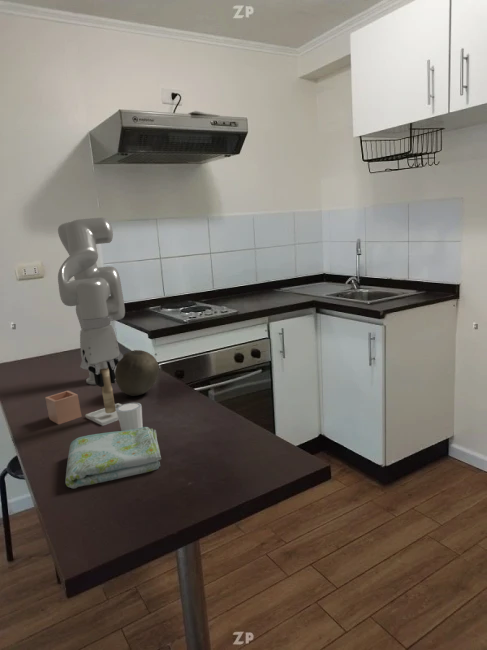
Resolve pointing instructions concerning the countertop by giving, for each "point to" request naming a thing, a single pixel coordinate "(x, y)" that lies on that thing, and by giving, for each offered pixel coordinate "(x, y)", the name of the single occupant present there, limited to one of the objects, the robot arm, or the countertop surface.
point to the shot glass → (130, 416)
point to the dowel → (107, 391)
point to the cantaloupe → (136, 372)
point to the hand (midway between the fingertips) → (106, 383)
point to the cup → (63, 407)
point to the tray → (103, 416)
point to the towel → (111, 456)
